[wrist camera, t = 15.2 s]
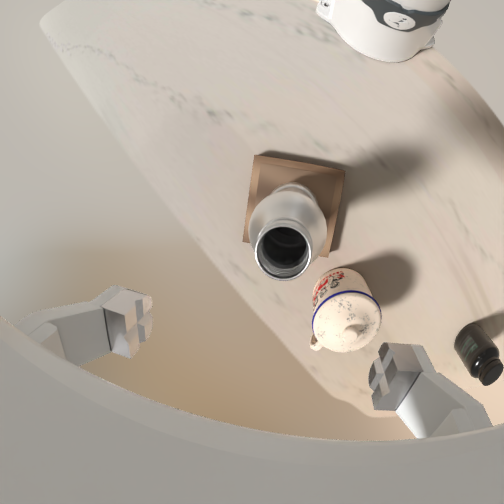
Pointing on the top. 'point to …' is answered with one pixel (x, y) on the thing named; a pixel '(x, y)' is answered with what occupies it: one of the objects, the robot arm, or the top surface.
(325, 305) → the teacup with lid
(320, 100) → the top surface
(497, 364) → the supplement bottle
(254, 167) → the display stand
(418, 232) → the top surface
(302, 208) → the plastic bottle
